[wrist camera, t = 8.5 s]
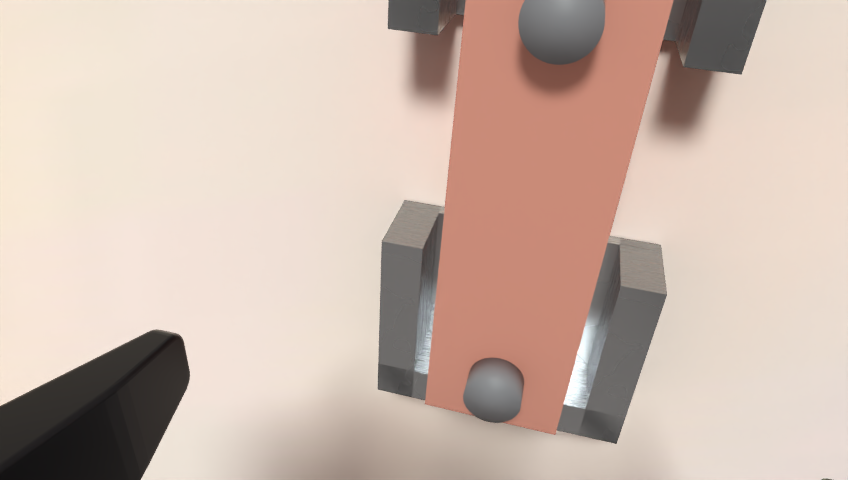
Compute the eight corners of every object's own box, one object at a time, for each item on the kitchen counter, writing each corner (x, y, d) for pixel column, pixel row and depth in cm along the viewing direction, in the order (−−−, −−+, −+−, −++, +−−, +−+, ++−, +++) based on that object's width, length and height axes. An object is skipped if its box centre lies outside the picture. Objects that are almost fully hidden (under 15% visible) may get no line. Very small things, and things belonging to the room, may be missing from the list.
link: (566, 315, 21) (552, 459, 16) (460, 294, 21) (417, 426, 17) (669, -100, 14) (699, -66, 9) (513, -116, 15) (466, -91, 10)
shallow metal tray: (615, 387, 22) (616, 443, 20) (397, 341, 24) (377, 389, 22) (821, -265, 13) (862, -284, 11) (428, -283, 14) (397, -302, 12)
